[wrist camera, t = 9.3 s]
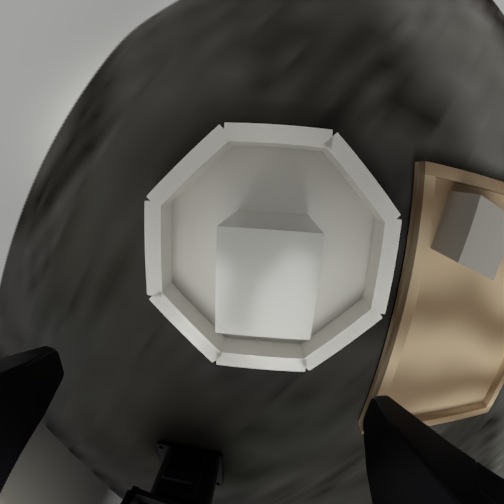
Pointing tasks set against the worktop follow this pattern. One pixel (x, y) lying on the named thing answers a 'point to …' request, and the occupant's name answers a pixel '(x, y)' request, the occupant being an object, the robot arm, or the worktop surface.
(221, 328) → the grey rectangular block
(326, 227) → the bowl
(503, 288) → the tray
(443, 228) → the grey cubic piece
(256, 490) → the worktop surface
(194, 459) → the robot arm
